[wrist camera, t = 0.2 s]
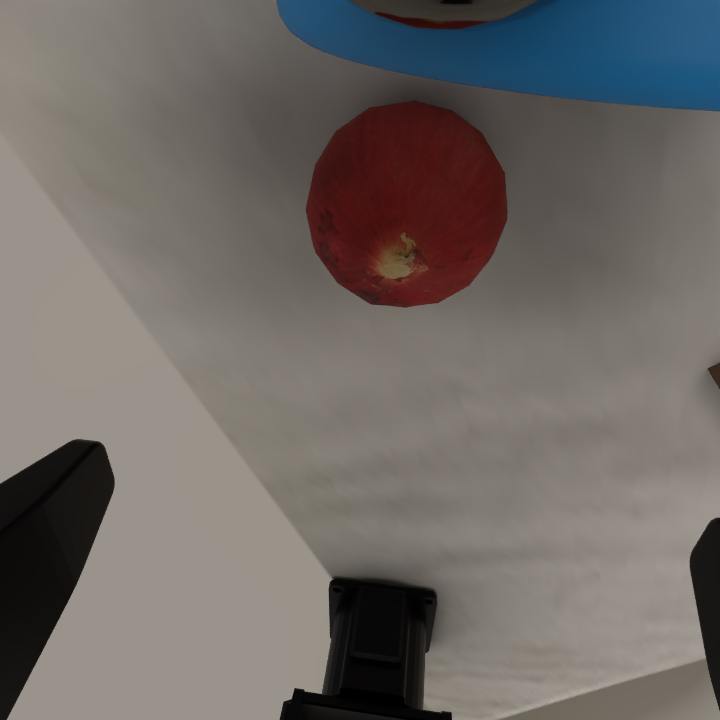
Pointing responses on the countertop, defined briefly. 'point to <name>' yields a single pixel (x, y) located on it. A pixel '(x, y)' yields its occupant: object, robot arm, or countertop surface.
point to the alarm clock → (531, 45)
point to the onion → (406, 204)
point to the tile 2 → (715, 373)
